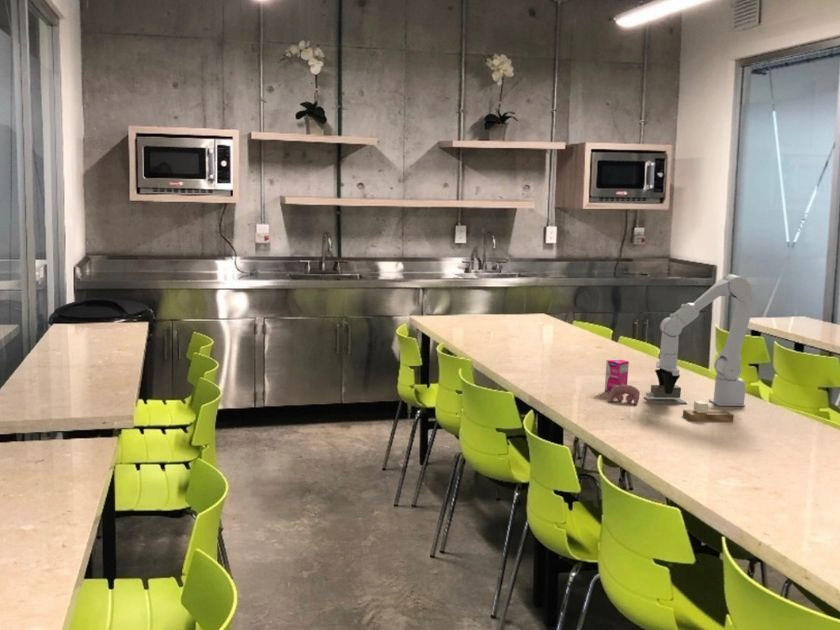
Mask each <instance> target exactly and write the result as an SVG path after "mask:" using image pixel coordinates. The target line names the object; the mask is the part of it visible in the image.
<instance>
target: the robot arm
mask: <svg viewBox="0 0 840 630" xmlns="http://www.w3.org/2000/svg"><path fill="white" fill-rule="evenodd" d="M753 295H754V294H753V292H752V284H751V283H750V282H749V280H747V278H745V277H743V276H738V275H736V274H733V273H729V274H726V275H725V276H723V277H722V278H721V279H719V280H718V281H716V282H715V284H713V285H712V286H711V287H710V288H709V289H708V290H706V291H705V292H704V293H703V294H701V295H700V296H699V297H698V298H697V299H696V300H695V301H694V302H687V303H683V304H681V305H680V308H679V309H677V310H676V311H675V312H673V313H670V314H669V316H668V317H665V318H664V319H663V320H662V321H661V323H660V324H659V328H660V331H661V339H660V353H659V361H658V360H657V361H656V365H655V368H657V369H655V370H654V372H655V374H656V376H657V380H658V385H665V393H666V394H672V392H673V389H674V386H675V385H676V383H677V381H678V380H679V379H680V377H681V376H680V369H679V368H678V366H677V365H678V356H679V355H678V353H679V336H680V335H681V333H682V331H683V329H684V328H685V327H686V326H687V325H689V324H690V323H692V322H693V321H694V320H696V318H697V317H699V316H700V311H701V310H702V309H704V308H705V307H706V306H708V305H709V304H711V303H712V302H714V301H715V300H717V299H718V298H719V297H727V296H731V298H732V299H733V300H734V302H735V303H736V307H735V310H734V313H733V316H732V320H731V324H730V328H729V331H728V335H727V338H726V342H725V345H724V347H723V349H722V350H721V352H720V354H719V356H718V358H717V359H715V362H714V370H715V371H716V375H715V382H714V393H713V398H709V399H708V401H709V402H711V403H713V404H715V405H716V406H718V407H724V406H725V407H745V406H746V404H745V398H746V397H745V395H746V383H745V380H744V379H743V378H741V377H740V376H741V374H742V367H741V365H742V364H741V363H742V355H741V351H742V347H743V344H744V341H745V337H746V335H747V331H748V326H749V323H750V320H751V316H752V313H753V309H754V306H755V298H754V296H753Z"/></svg>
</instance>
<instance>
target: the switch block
mask: <svg viewBox="0 0 840 630" xmlns="http://www.w3.org/2000/svg"><path fill="white" fill-rule="evenodd" d="M682 416H683V417H684V418H685V419H687V420H689V421H692V422H709V421H710V422H734V414H733V413H732V412H729V411H728V410H726V409H708V413H698V412H696V411H694V409H683V410H682Z"/></svg>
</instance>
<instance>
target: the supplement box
mask: <svg viewBox="0 0 840 630" xmlns="http://www.w3.org/2000/svg"><path fill="white" fill-rule="evenodd" d="M629 364H630V362H629V361H628V360H624V359H619V358H612V359H608V360H606V365H605V366H606V367H605V380H604V381H605V382H604V392H607V393H610V392H611V389H612V388H613V387H614V386H615V385H628V376H629Z"/></svg>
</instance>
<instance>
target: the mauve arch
mask: <svg viewBox="0 0 840 630" xmlns="http://www.w3.org/2000/svg"><path fill="white" fill-rule="evenodd" d="M623 394H626V397H625V400H626V402H627V403H632V402H633V405H634V406H637V405H638V404H639V400H640V394H641V393H640V391H639V389H638V388H637V387H636V386H632V385H629V384H627V385H615V386H614V387H613V388H612V389H611V392H609V395H608V396H609V397H608V401H609V403H611V402H613V401H614V399H615V398H616V400H617V401H618V402H623V401H624V396H623Z"/></svg>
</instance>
